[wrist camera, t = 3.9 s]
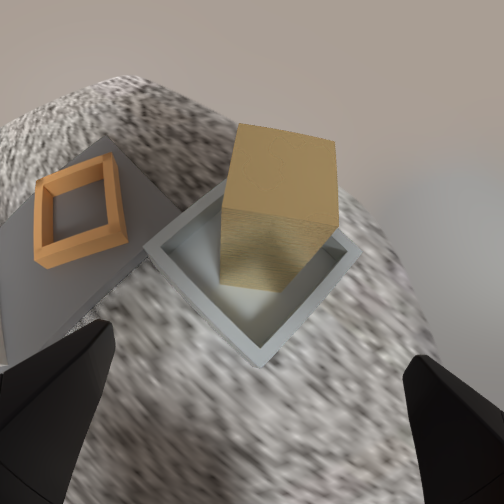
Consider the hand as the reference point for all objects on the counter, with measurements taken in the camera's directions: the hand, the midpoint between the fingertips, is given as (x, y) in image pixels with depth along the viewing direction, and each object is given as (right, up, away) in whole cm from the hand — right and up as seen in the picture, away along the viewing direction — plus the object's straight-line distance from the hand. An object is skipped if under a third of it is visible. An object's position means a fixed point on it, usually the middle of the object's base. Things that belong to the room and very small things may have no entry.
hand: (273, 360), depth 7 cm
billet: (0, +2, +12) cm, 12 cm away
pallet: (-19, +1, +12) cm, 22 cm away
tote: (-1, +2, +14) cm, 14 cm away
